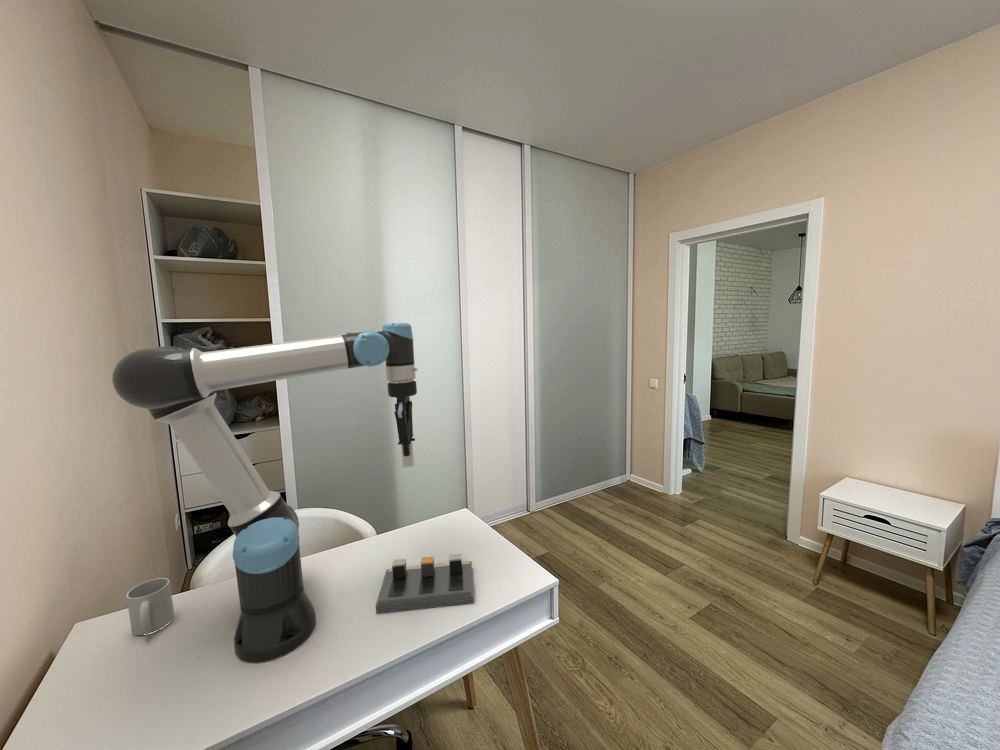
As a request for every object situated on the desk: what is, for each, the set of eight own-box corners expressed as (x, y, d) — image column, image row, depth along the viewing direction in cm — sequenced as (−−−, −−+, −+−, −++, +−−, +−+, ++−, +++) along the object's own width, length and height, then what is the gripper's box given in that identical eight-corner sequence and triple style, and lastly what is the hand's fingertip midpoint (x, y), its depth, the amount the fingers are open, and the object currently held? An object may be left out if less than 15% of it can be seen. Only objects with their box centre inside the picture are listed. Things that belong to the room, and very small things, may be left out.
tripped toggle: (421, 577, 99) (420, 563, 99) (422, 571, 102) (421, 557, 101) (433, 575, 100) (432, 561, 99) (434, 569, 102) (433, 556, 102)
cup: (177, 609, 95) (172, 574, 94) (169, 636, 86) (163, 597, 85) (136, 621, 91) (131, 585, 90) (124, 651, 82) (118, 610, 81)
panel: (376, 614, 90) (374, 589, 89) (387, 576, 104) (385, 554, 103) (473, 603, 92) (472, 579, 92) (471, 568, 106) (470, 546, 105)
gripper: (411, 383, 101) (418, 473, 104) (419, 377, 114) (425, 457, 116) (381, 385, 100) (389, 475, 103) (392, 378, 113) (399, 459, 116)
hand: (408, 465), depth 110 cm, fingers closed
